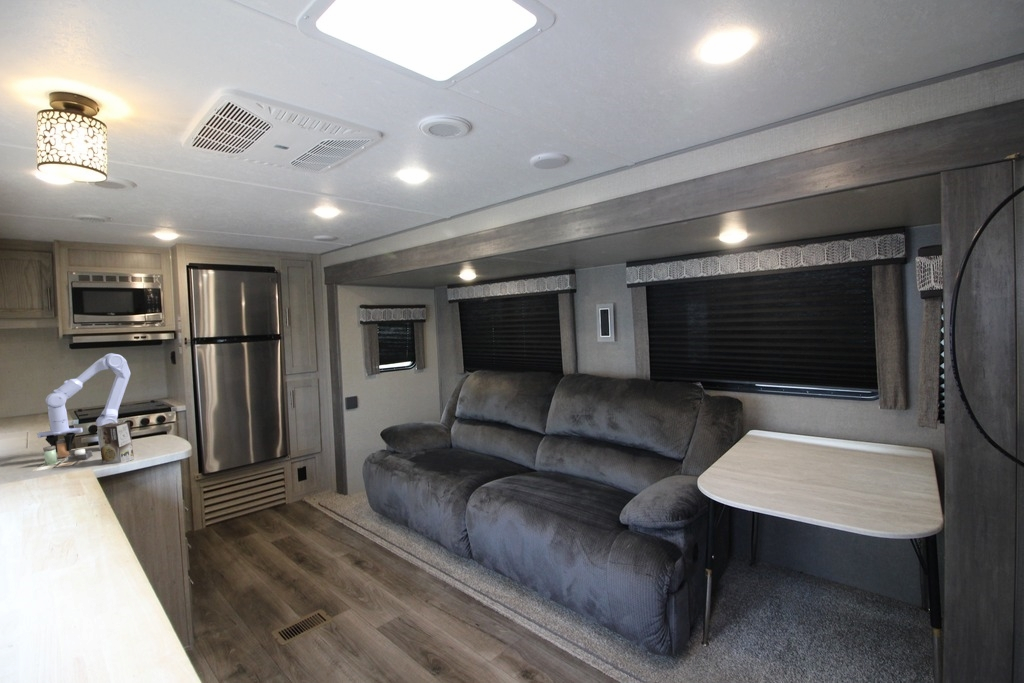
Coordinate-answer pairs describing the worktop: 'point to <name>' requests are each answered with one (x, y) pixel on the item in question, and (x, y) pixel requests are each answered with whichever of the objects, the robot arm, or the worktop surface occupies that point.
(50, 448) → the green jar
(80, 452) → the button
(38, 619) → the worktop surface
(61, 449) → the orange jar
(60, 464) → the picture board
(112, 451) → the coffee box
